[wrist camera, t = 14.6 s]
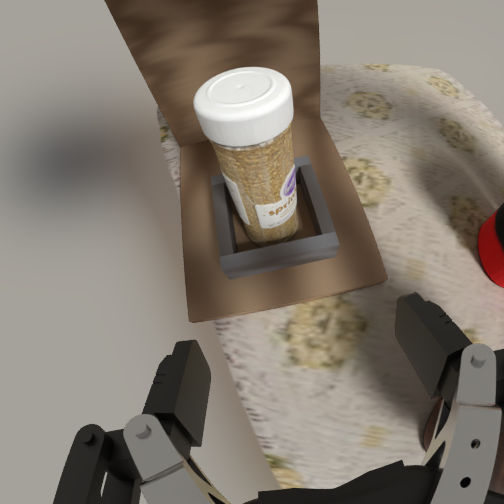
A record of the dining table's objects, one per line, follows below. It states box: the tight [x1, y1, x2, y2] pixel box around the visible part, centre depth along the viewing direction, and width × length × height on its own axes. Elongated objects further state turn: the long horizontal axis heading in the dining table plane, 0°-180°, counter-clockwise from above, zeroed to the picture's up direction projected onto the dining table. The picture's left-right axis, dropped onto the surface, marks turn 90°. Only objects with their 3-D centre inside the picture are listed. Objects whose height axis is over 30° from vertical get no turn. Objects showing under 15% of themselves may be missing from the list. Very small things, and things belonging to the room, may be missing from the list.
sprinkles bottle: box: [193, 67, 298, 247], centre depth 16 cm, size 5×5×13 cm
